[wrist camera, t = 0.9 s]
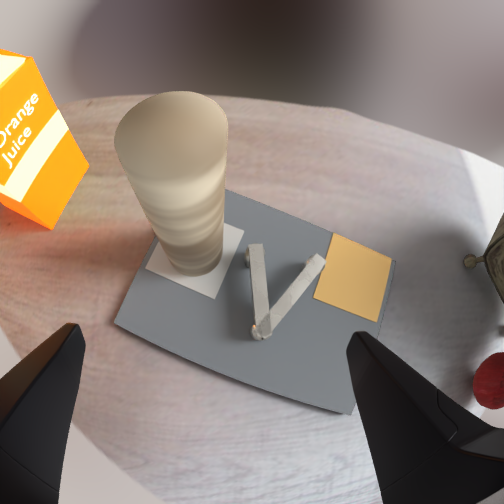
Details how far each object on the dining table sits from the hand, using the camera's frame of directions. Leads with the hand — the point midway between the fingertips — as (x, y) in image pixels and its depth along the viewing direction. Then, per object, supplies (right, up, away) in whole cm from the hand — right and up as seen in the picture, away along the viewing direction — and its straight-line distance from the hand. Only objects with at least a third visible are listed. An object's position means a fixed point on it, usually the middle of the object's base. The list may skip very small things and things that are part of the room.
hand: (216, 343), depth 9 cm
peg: (-3, +3, +15) cm, 15 cm away
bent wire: (+3, 0, +14) cm, 14 cm away
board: (+2, -1, +15) cm, 15 cm away
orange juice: (-21, +10, +16) cm, 28 cm away
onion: (+25, -11, +14) cm, 31 cm away
